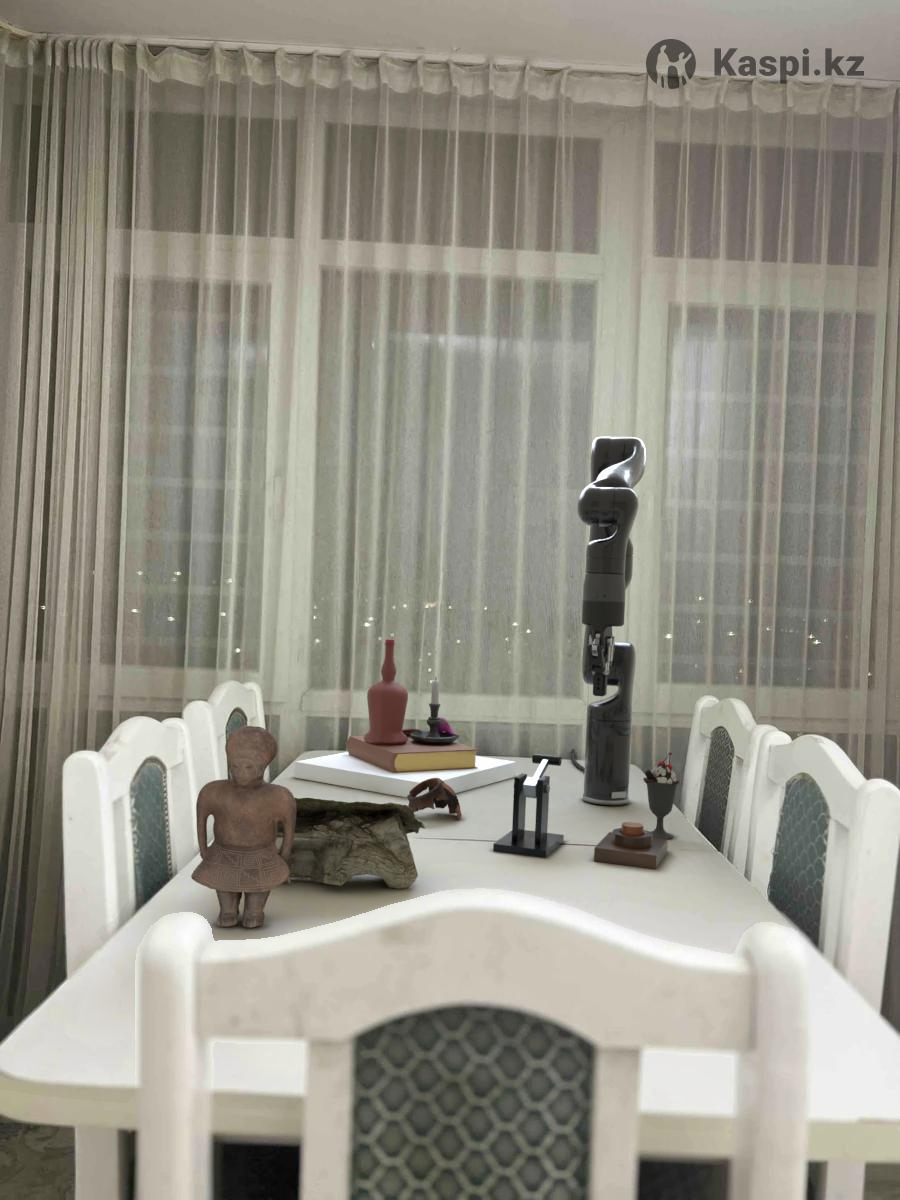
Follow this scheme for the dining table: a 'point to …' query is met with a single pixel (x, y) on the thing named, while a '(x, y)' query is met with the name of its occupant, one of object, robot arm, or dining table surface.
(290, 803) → the clay figurine
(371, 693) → the decorative still life
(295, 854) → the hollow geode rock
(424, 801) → the brown broken pot shard
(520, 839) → the bracket
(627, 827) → the button
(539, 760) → the lever
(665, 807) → the sundae
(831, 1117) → the dining table surface
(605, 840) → the button block
